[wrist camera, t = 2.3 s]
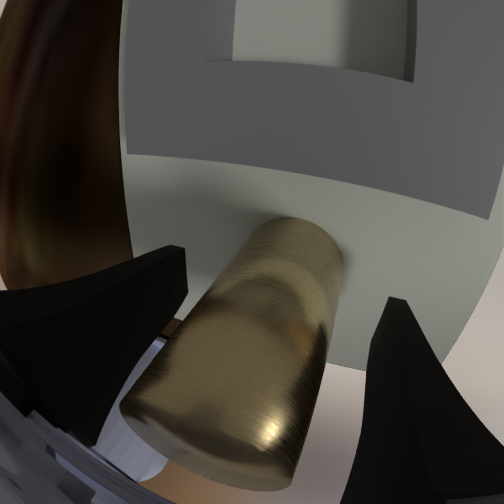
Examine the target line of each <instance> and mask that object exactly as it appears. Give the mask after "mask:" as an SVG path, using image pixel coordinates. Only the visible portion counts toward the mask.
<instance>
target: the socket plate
mask: <svg viewBox="0 0 504 504" xmlns="http://www.w3.org/2000/svg"><path fill="white" fill-rule="evenodd" d="M119 123H120V143H121V158H122V171H123V181H124V191H125V200H126V208H127V216H128V224H129V231H130V238H131V244H132V250H133V256H134V258H135V257H138V256H140V255H143V254H145V253H148V252H150V251H153V250H156V249H158V248H161V247H164V246H168V245H175V246H179V247H183V248H185V254H186V267H187V280H188V291H189V293H188V295H187V296H186V298H185V300H184V302H183V303H182V305H181V307H180V308H179V310H178V312H177V313H176V315H175V316H174V317H175V318H177V319H180V320H184V319H185V317H186V316H187V315H188V313H189V312H190V311H191V310H192V308H193V307H194V306H195V305H196V303H197V302H198V301H199V300H200V298H201V297H202V296H203V294H204V293H205V292H206V291H207V289H208V288H209V287H210V286H211V284H212V283H213V282H214V281H215V279H216V278H217V277H218V275H219V274H220V273H221V272H222V270H223V269H224V268H225V267H226V265H227V264H228V263H229V262H230V260H231V259H232V258H233V257H234V255H235V254H236V253H237V252H238V250H239V249H240V248H241V247H242V245H243V244H244V243H245V242H246V240H247V239H248V238H249V237H250V235H251V234H252V233H253V232H254V231H255V230H256V229H257V228H258V227H259V226H260V225H262V224H264V223H265V222H268V221H270V220H273V219H277V218H284V217H293V218H300V219H303V220H307V221H309V222H312V223H314V224H316V225H318V226H319V227H321V228H322V229H324V230H325V231H326V232H327V233H328V234H329V235H330V236H331V237H332V238H333V239H334V240H335V242H336V243H337V245H338V247H339V249H340V251H341V253H342V257H343V261H344V273H343V280H342V285H341V291H340V297H339V302H338V308H337V313H336V318H335V323H334V328H333V333H332V338H331V342H330V347H329V351H328V356H327V360H326V362H327V363H331V364H336V365H340V366H344V367H349V368H354V369H358V370H363V371H366V368H367V361H368V354H369V348H370V342H371V339H372V337H373V334H374V332H375V330H376V327H377V325H378V322H379V320H380V318H381V315H382V313H383V310H384V308H385V305H386V303H387V300H388V297H389V296H391V297H395V298H399V299H404V300H406V301H407V303H408V304H409V306H410V308H411V310H412V312H413V314H414V316H415V318H416V320H417V322H418V323H419V325H420V327H421V329H422V331H423V333H424V335H425V337H426V339H427V341H428V342H429V344H430V346H431V348H432V350H433V351H434V353H435V355H436V357H437V358H438V360H439V362H440V364H442V362H443V361H444V359H445V358H446V356H447V354H448V353H449V351H450V350H451V348H452V347H453V345H454V344H455V342H456V340H457V339H458V337H459V335H460V334H461V332H462V330H463V329H464V326H465V325H466V323H467V322H468V320H469V318H470V316H471V314H472V313H473V311H474V309H475V307H476V305H477V303H478V301H479V299H480V297H481V295H482V293H483V291H484V289H485V287H486V285H487V283H488V281H489V279H490V277H491V275H492V272H493V270H494V268H495V266H496V263H497V261H498V259H499V256H500V254H501V251H502V249H503V246H504V0H123V7H122V18H121V32H120V50H119Z"/></svg>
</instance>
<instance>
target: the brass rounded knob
mask: <svg viewBox="0 0 504 504" xmlns="http://www.w3.org/2000/svg"><path fill="white" fill-rule="evenodd" d="M343 273H344V261H343V257H342V253H341V251H340V249H339V247H338V245H337V243H336V242H335V240H334V239H333V238H332V237H331V236H330V235H329V234H328V233H327V232H326V231H325V230H324V229H322V228H321V227H319V226H318V225H316V224H314V223H312V222H309V221H307V220H303V219H300V218H293V217H284V218H277V219H273V220H270V221H268V222H265V223H264V224H262V225H260V226H259V227H258V228H257V229H256V230H255V231H254V232H253V233H252V234H251V235H250V237H249V238H248V239H247V240H246V242H245V243H244V244H243V245H242V247H241V248H240V249H239V250H238V252H237V253H236V254H235V255H234V257H233V258H232V259H231V260H230V262H229V263H228V264H227V265H226V267H225V268H224V269H223V270H222V272H221V273H220V274H219V275H218V277H217V278H216V279H215V281H214V282H213V283H212V284H211V286H210V287H209V288H208V289H207V291H206V292H205V293H204V294H203V296H202V297H201V298H200V300H199V301H198V302H197V303H196V305H195V306H194V307H193V308H192V310H191V311H190V312H189V313H188V315H187V316H186V317H185V319H184V320H183V321H182V322H181V324H180V325H179V326H178V328H177V329H176V330H175V331H174V333H173V334H172V335H171V336H170V338H169V339H168V340H167V342H166V343H165V344H164V345H163V347H162V348H161V349H160V351H159V352H158V353H157V354H156V356H155V357H154V358H153V360H152V361H151V362H150V363H149V365H148V366H147V367H146V369H145V370H144V371H143V372H142V374H141V375H140V376H139V378H138V379H137V380H136V382H135V383H134V384H133V385H132V387H131V388H130V389H129V391H128V392H127V393H126V395H125V396H124V397H123V398H122V400H121V401H120V403H119V410H120V413H121V415H122V417H123V419H124V420H125V422H126V423H127V424H128V426H129V427H130V428H131V429H132V430H133V431H134V432H135V433H136V434H137V435H138V436H139V437H140V438H141V439H142V440H143V441H144V442H145V443H147V444H148V445H149V446H150V447H152V448H153V449H154V450H156V451H157V452H158V453H160V454H161V455H163V456H164V457H166V458H167V459H169V460H171V461H172V462H174V463H176V464H178V465H179V466H181V467H183V468H185V469H187V470H189V471H191V472H193V473H196V474H198V475H200V476H202V477H205V478H207V479H210V480H213V481H215V482H218V483H222V484H225V485H228V486H232V487H236V488H241V489H246V490H253V491H278V490H282V489H285V488H287V487H288V486H289V485H291V482H292V479H293V476H294V473H295V470H296V467H297V464H298V461H299V458H300V455H301V452H302V449H303V446H304V442H305V439H306V436H307V432H308V429H309V426H310V422H311V419H312V415H313V411H314V408H315V404H316V400H317V397H318V393H319V389H320V385H321V381H322V376H323V372H324V368H325V364H326V360H327V356H328V351H329V347H330V342H331V338H332V333H333V328H334V323H335V318H336V313H337V308H338V302H339V297H340V291H341V285H342V280H343Z"/></svg>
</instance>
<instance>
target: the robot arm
mask: <svg viewBox="0 0 504 504" xmlns="http://www.w3.org/2000/svg"><path fill="white" fill-rule="evenodd" d="M188 293H189V291H188V280H187V267H186V254H185V248H183V247H179V246H175V245H168V246H164V247H161V248H158V249H156V250H153V251H150V252H148V253H145V254H143V255H140V256H138V257H135V258H133V259H130V260H128V261H125V262H123V263H120V264H118V265H115V266H112V267H110V268H107V269H104V270H102V271H99V272H96V273H93V274H90V275H87V276H84V277H81V278H77V279H73V280H70V281H66V282H61V283H57V284H52V285H47V286H42V287H36V288H29V289H20V290H1V291H0V504H176V503H174V502H172V501H170V500H168V499H165V498H163V497H161V496H159V495H157V494H155V493H153V492H151V491H150V490H148V489H146V488H144V487H142V486H140V485H139V484H138V482H139V481H144V480H147V479H150V478H152V477H154V476H155V475H157V474H158V473H159V472H160V471H161V470H162V469H163V468H164V466H165V464H166V463H167V461H168V460H169V459H167V458H166V457H164V456H163V455H161V454H160V453H158V452H157V451H156V450H154V449H153V448H152V447H150V446H149V445H148V444H147V443H145V442H144V441H143V440H142V439H141V438H140V437H139V436H138V435H137V434H136V433H135V432H134V431H133V430H132V429H131V428H130V427H129V426H128V424H127V423H126V422H125V420H124V419H123V417H122V415H121V413H120V410H119V403H120V401H121V400H122V398H123V397H124V396H125V395H126V393H127V392H128V391H129V389H130V388H131V387H132V385H133V384H134V383H135V382H136V380H137V379H138V378H139V376H140V375H141V374H142V372H143V371H144V370H145V369H146V367H147V366H148V365H149V363H150V362H151V361H152V360H153V358H154V357H155V356H156V354H157V353H158V352H159V351H160V349H161V348H162V347H163V345H164V344H165V343H166V342H167V340H166V339H163V338H161V337H158V336H159V335H160V333H161V332H162V331H163V330H164V328H165V327H166V326H167V325H168V323H169V322H170V321H171V320H172V318H173V317H174V316H175V315H176V313H177V312H178V310H179V308H180V307H181V305H182V303H183V302H184V300H185V298H186V296H187V295H188ZM340 504H504V446H503V445H502V444H501V443H500V442H499V441H498V440H497V439H496V438H495V437H494V436H493V434H491V432H490V431H489V430H488V429H487V428H486V427H485V425H484V424H483V423H482V422H481V421H480V420H479V418H478V417H477V416H476V414H475V413H474V412H473V411H472V409H471V408H470V407H469V406H468V404H467V403H466V402H465V400H464V399H463V398H462V396H461V395H460V393H459V392H458V390H457V389H456V387H455V386H454V384H453V383H452V381H451V380H450V378H449V377H448V375H447V374H446V372H445V370H444V369H443V367H442V365H441V364H440V362H439V360H438V358H437V357H436V355H435V353H434V351H433V350H432V348H431V346H430V344H429V342H428V341H427V339H426V337H425V335H424V333H423V331H422V329H421V327H420V325H419V323H418V322H417V320H416V318H415V316H414V314H413V312H412V310H411V308H410V306H409V304H408V303H407V301H406V300H404V299H399V298H395V297H391V296H389V297H388V300H387V303H386V305H385V308H384V310H383V313H382V315H381V318H380V320H379V322H378V325H377V327H376V330H375V332H374V334H373V337H372V339H371V342H370V348H369V354H368V361H367V368H366V384H365V397H364V411H363V420H362V427H361V434H360V438H359V443H358V447H357V451H356V455H355V458H354V462H353V466H352V469H351V472H350V476H349V479H348V482H347V485H346V488H345V491H344V493H343V496H342V499H341V502H340Z"/></svg>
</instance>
